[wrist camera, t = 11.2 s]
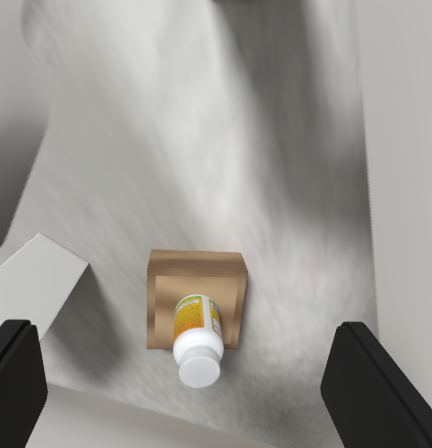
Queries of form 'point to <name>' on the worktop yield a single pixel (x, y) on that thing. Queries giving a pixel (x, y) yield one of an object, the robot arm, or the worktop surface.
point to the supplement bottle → (197, 341)
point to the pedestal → (194, 291)
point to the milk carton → (38, 282)
